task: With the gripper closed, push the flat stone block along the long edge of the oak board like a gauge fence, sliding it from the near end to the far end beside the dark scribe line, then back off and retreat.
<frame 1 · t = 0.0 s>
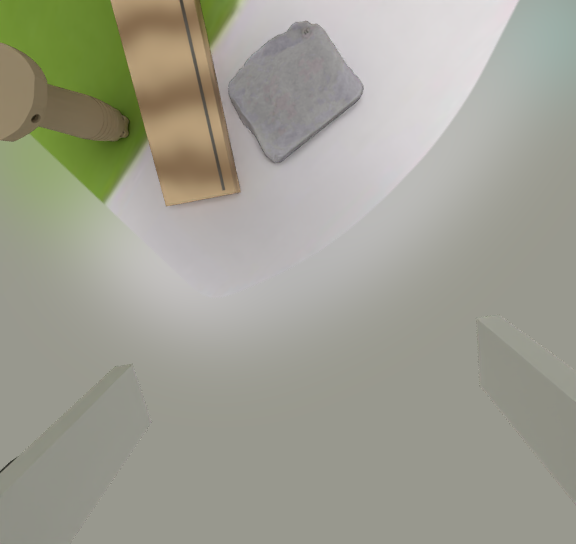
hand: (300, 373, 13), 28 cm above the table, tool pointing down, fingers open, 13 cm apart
handle: (118, 126, 38), on the table
oak board: (183, 96, 37), on the table
stone block: (291, 95, 36), on the table
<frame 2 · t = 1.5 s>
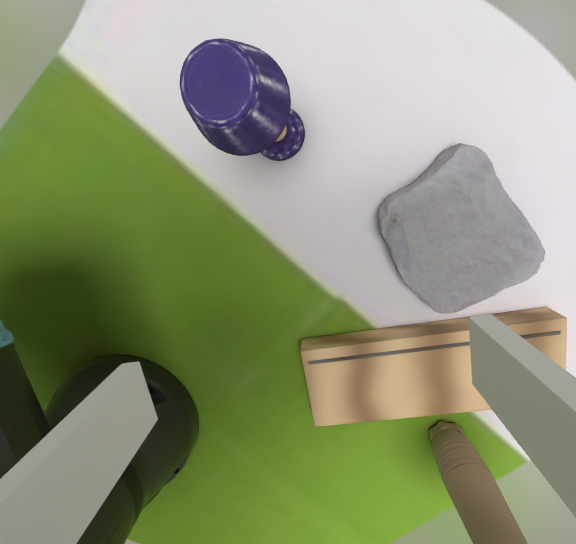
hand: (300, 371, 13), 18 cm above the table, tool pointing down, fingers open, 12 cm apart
handle: (443, 430, 34), on the table
oak board: (422, 362, 32), on the table
toy lamp: (275, 136, 28), on the table
stone block: (441, 234, 30), on the table
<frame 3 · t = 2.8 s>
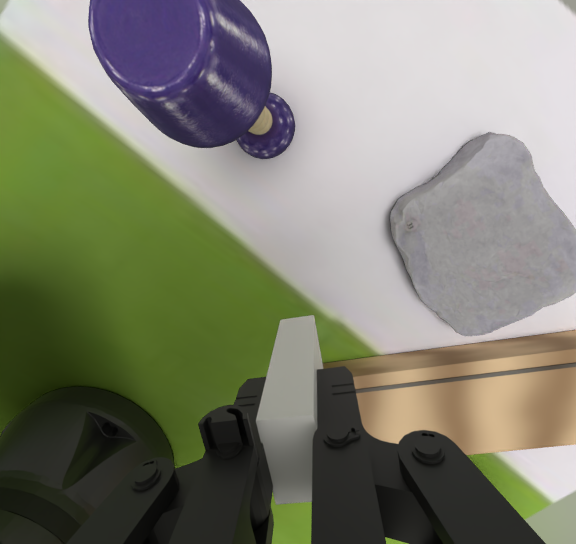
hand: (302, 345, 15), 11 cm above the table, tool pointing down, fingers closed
oak board: (433, 393, 28), on the table
toy lamp: (260, 129, 24), on the table
stone block: (462, 242, 25), on the table
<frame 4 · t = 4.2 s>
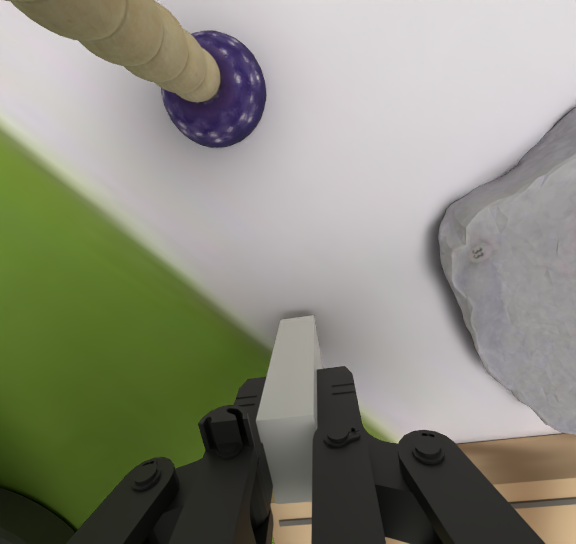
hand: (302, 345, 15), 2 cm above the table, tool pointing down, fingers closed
oak board: (481, 503, 18), on the table
toy lamp: (209, 99, 14), on the table
stone block: (550, 273, 16), on the table
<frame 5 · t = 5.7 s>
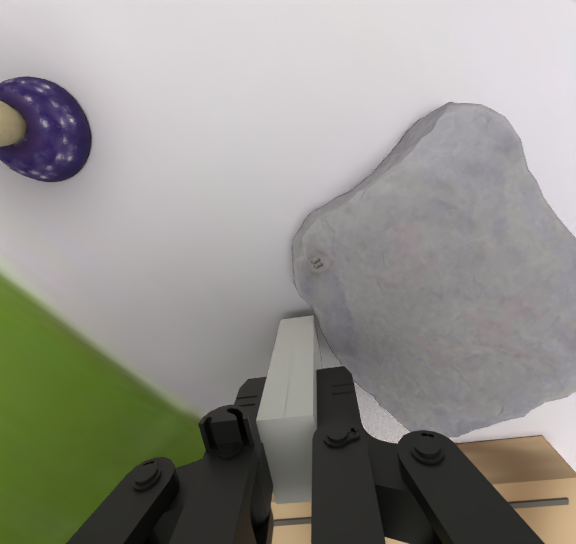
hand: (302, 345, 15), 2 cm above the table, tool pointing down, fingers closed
oak board: (337, 513, 19), on the table
toy lamp: (42, 136, 15), on the table
stone block: (417, 281, 16), on the table, touching gripper
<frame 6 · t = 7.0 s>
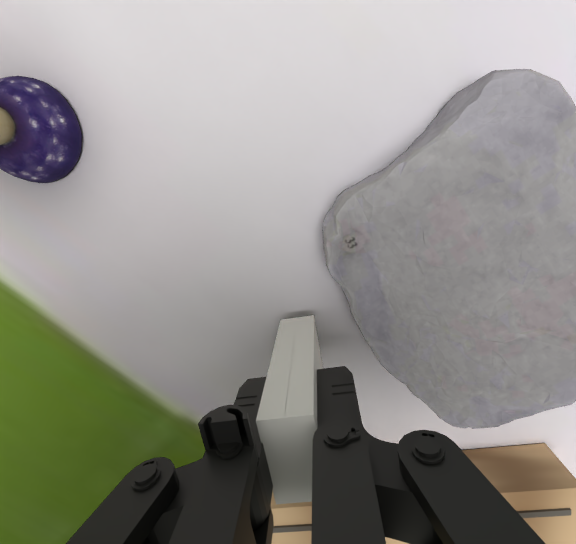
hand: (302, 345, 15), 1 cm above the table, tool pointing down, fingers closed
oak board: (334, 520, 19), on the table
toy lamp: (34, 137, 15), on the table
stone block: (450, 265, 15), on the table
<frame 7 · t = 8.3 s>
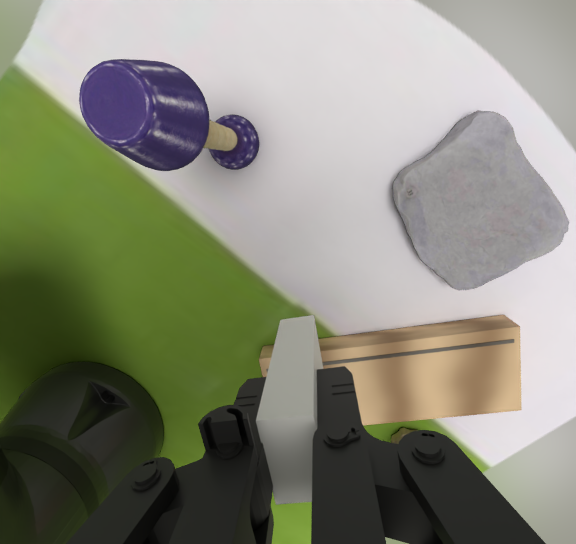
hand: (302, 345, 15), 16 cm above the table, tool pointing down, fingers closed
oak board: (382, 369, 32), on the table
toy lamp: (230, 145, 28), on the table
stone block: (457, 209, 29), on the table
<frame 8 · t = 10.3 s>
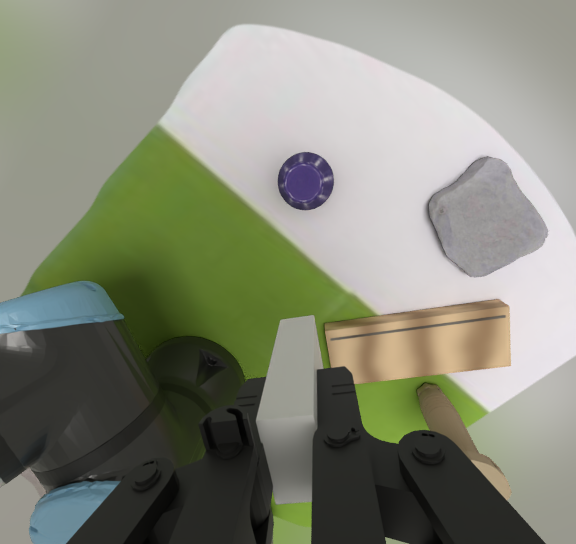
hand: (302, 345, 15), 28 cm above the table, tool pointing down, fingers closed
handle: (427, 390, 47), on the table
oak board: (411, 339, 45), on the table
toy lamp: (308, 180, 41), on the table
stone block: (472, 221, 41), on the table
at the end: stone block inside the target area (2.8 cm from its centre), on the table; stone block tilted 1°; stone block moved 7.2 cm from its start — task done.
